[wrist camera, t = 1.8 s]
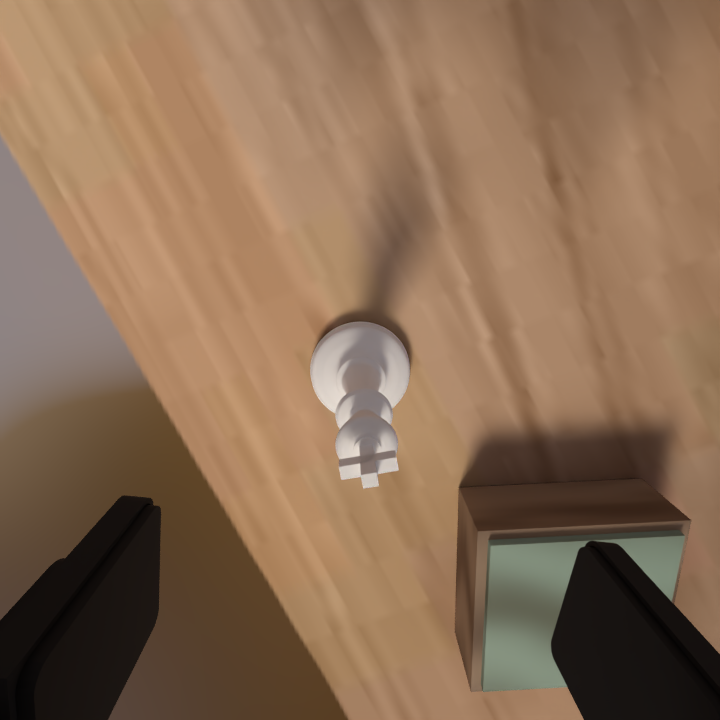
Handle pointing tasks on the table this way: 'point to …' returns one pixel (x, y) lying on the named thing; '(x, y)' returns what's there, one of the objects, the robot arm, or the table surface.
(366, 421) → the chess piece
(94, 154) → the table surface
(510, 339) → the table surface
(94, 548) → the robot arm
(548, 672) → the pedestal
